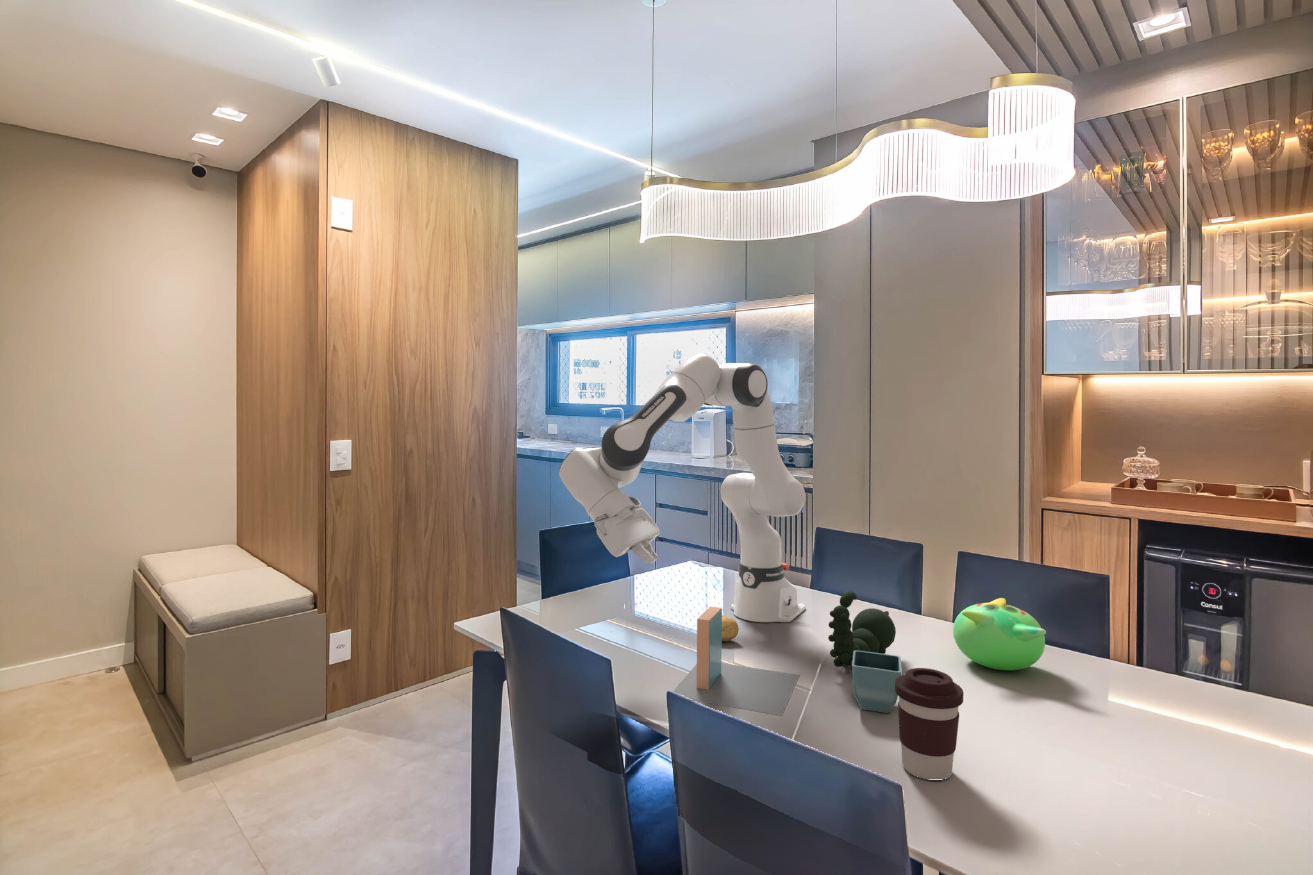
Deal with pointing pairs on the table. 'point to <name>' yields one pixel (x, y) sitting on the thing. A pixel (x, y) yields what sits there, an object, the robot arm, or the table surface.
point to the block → (709, 647)
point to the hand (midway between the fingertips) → (653, 561)
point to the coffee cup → (928, 721)
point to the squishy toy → (999, 636)
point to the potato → (729, 628)
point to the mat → (743, 688)
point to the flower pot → (875, 680)
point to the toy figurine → (859, 631)
